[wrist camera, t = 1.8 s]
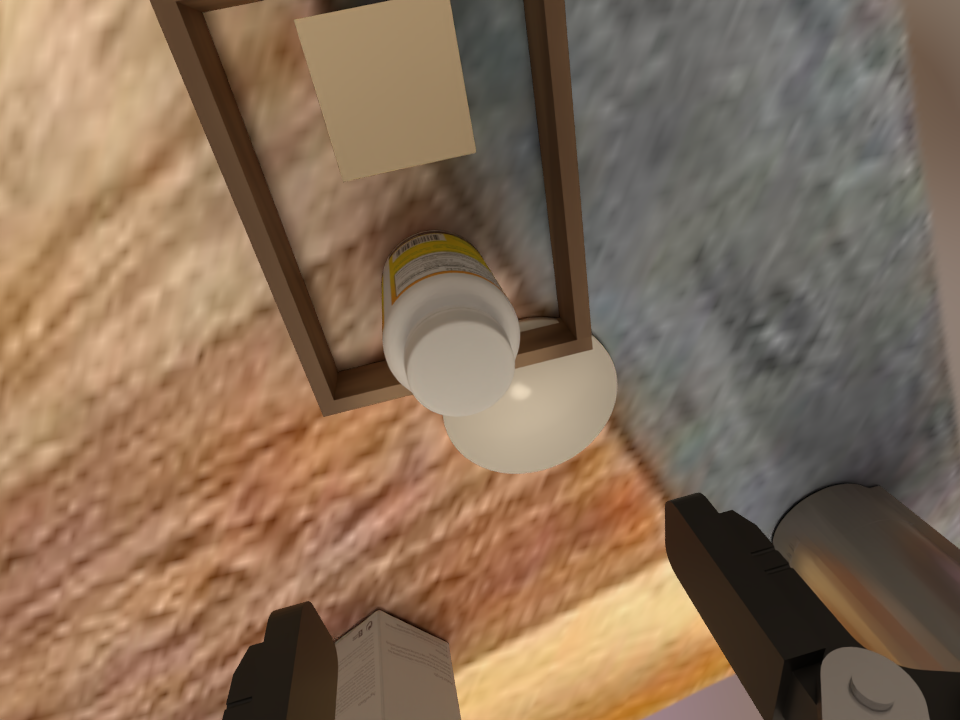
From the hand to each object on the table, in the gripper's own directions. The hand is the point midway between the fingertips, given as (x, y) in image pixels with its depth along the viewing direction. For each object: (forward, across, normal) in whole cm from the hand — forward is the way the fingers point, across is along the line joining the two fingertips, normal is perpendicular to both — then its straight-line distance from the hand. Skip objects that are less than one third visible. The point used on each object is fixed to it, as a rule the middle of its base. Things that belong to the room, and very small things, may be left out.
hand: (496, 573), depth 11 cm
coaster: (+18, -4, +9) cm, 21 cm away
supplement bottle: (+19, 0, 0) cm, 19 cm away
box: (+18, -1, -9) cm, 21 cm away
